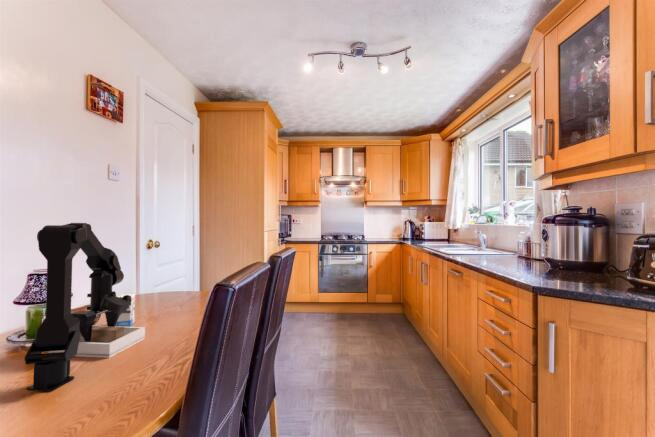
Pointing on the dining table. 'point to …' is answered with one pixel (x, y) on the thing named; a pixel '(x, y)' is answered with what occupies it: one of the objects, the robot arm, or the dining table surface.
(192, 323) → the dining table surface
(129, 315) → the ink box
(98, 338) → the strut
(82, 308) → the tin
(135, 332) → the bin
